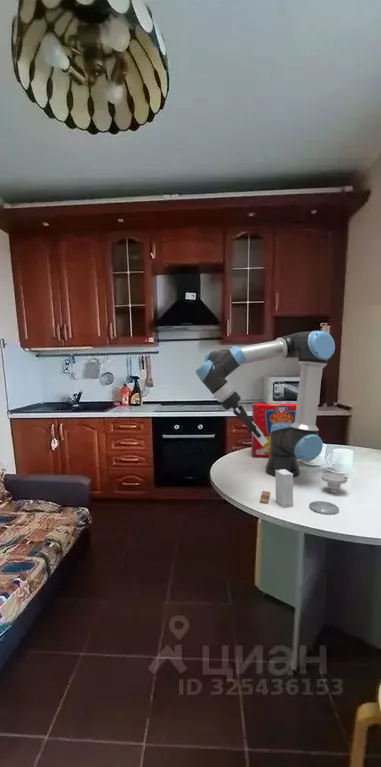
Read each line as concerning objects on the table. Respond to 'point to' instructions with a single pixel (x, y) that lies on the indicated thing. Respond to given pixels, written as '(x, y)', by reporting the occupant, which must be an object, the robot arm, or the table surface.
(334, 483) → the showerhead
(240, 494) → the table surface
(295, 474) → the robot arm
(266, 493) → the walnut board
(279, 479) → the skincare box
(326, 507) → the coaster
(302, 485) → the table surface
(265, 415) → the pasta box
